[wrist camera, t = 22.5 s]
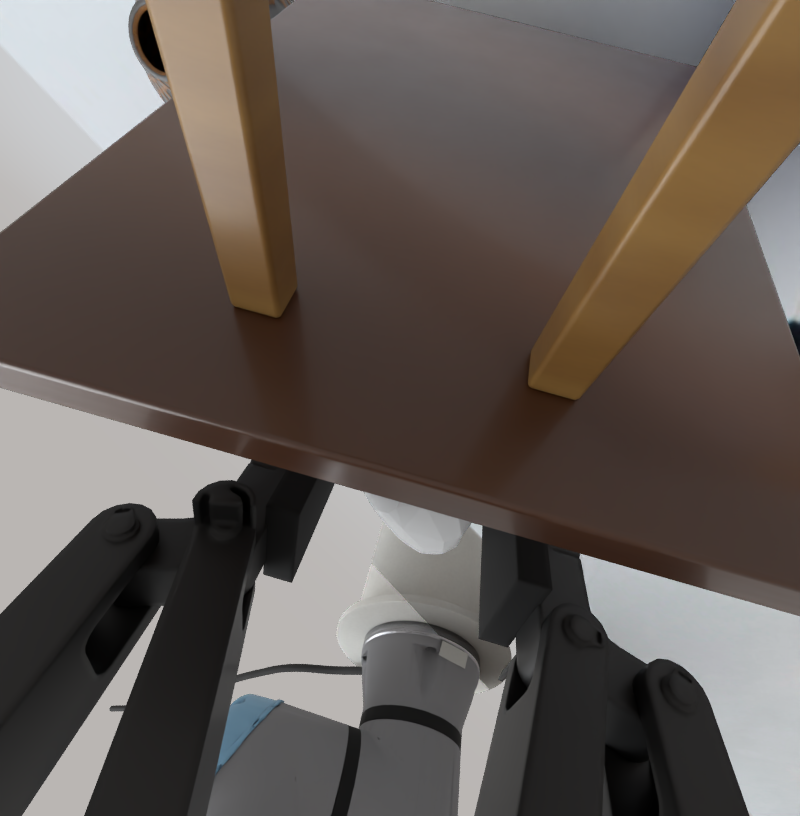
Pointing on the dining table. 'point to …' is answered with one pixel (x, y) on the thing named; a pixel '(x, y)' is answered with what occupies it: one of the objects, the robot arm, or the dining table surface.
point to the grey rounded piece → (419, 525)
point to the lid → (446, 275)
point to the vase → (148, 46)
